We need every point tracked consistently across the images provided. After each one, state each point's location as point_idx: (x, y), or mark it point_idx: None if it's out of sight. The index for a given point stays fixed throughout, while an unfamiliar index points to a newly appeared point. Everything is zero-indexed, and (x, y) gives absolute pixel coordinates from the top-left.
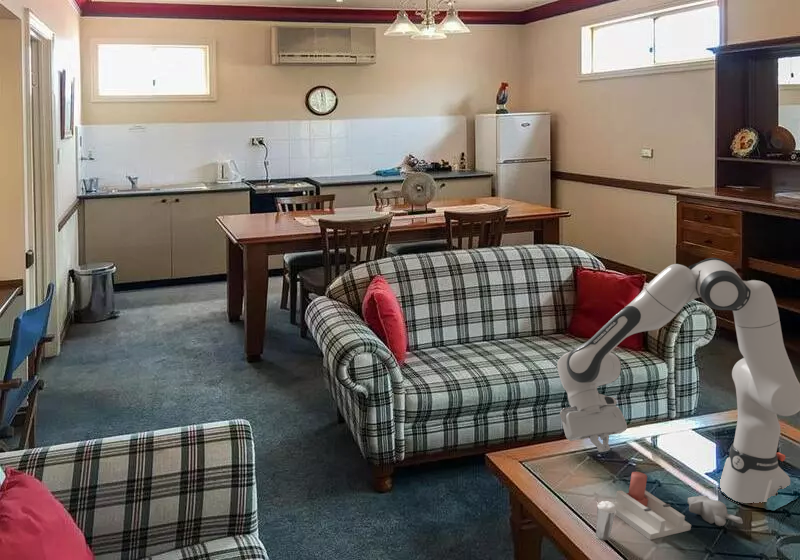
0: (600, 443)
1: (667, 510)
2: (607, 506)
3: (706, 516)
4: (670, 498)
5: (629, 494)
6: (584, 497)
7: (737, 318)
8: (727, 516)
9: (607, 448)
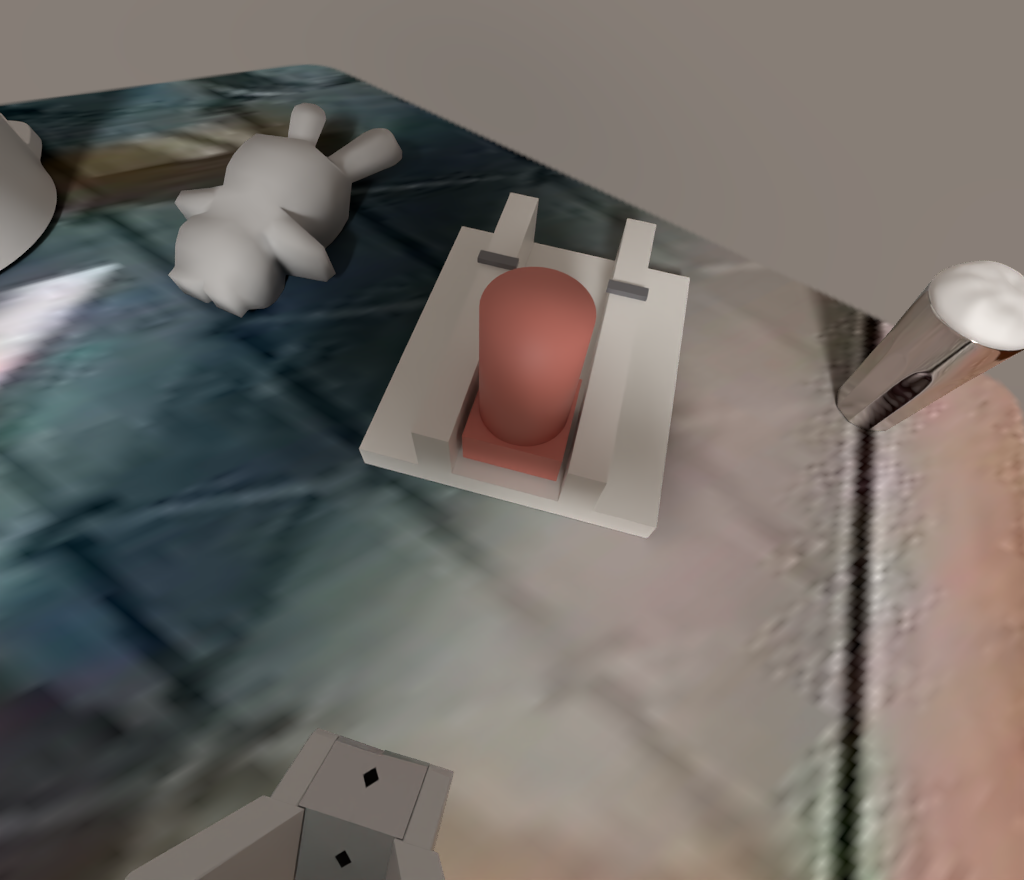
0: (413, 859)
1: (519, 256)
2: (1020, 279)
3: (332, 219)
4: (232, 398)
5: (565, 419)
6: (670, 701)
7: None
8: (311, 143)
9: (357, 744)
